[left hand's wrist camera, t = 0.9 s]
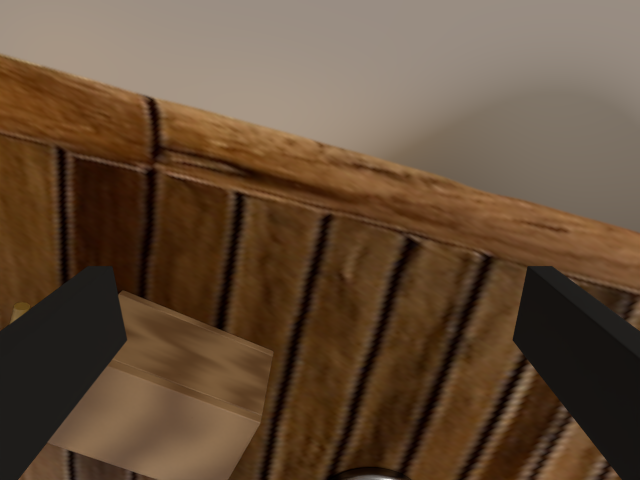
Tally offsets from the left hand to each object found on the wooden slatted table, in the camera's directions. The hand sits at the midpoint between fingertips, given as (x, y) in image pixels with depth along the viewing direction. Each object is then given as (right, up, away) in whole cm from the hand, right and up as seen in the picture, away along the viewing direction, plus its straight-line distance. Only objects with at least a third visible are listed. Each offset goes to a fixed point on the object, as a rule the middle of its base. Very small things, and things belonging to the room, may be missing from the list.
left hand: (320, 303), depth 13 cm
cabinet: (-16, -11, +32) cm, 37 cm away
